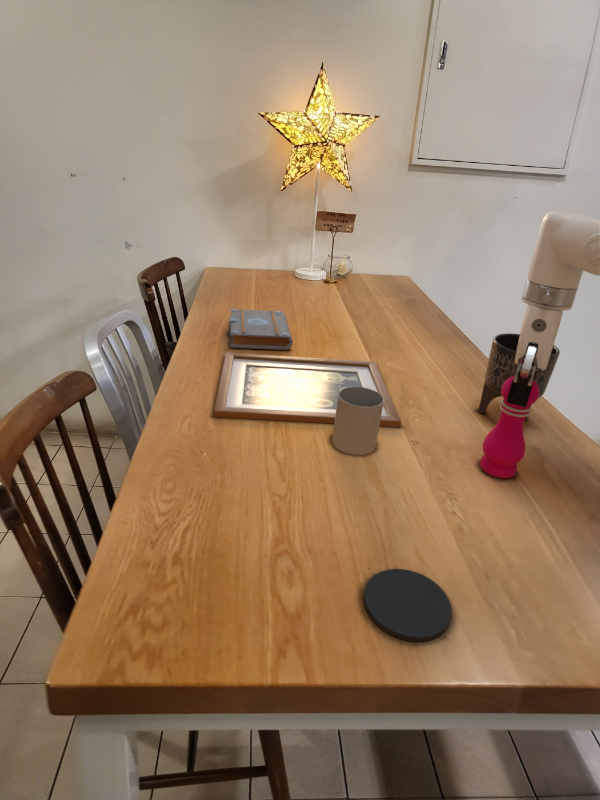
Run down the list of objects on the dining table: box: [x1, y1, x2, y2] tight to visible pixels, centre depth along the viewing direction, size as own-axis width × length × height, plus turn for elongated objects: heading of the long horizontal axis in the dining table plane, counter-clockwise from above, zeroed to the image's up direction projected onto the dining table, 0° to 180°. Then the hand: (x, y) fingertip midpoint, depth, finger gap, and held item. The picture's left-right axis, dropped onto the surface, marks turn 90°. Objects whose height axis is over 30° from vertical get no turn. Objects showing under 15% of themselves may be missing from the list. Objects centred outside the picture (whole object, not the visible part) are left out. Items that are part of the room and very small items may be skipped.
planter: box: [477, 333, 561, 421], centre depth 113 cm, size 13×13×18 cm
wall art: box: [213, 351, 402, 428], centre depth 122 cm, size 31×2×38 cm
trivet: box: [363, 568, 453, 643], centre depth 68 cm, size 11×11×1 cm
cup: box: [331, 387, 384, 456], centre depth 101 cm, size 8×8×10 cm
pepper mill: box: [479, 372, 539, 479], centre depth 95 cm, size 7×7×20 cm
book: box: [228, 308, 294, 351], centre depth 149 cm, size 21×16×5 cm
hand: (518, 396), depth 93 cm, fingers closed on pepper mill, 6 cm apart
